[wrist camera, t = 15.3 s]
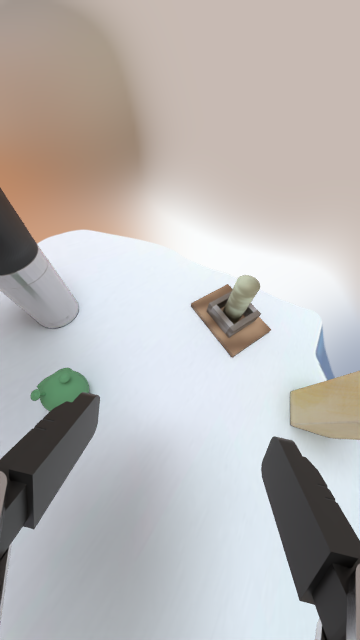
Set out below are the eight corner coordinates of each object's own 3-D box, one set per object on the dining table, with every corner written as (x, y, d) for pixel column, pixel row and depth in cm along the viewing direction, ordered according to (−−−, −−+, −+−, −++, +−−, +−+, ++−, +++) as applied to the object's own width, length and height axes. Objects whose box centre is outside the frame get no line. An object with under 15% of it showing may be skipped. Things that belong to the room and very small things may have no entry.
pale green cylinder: (217, 313, 47) (232, 280, 37) (231, 306, 48) (248, 272, 38) (229, 327, 45) (247, 296, 35) (242, 319, 47) (264, 287, 36)
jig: (190, 305, 49) (193, 294, 45) (226, 287, 53) (231, 275, 49) (232, 357, 43) (238, 350, 39) (268, 331, 47) (278, 322, 43)
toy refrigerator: (328, 398, 40) (465, 374, 22) (332, 438, 36) (499, 449, 18) (289, 387, 41) (391, 353, 22) (289, 425, 37) (410, 422, 19)
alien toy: (83, 367, 40) (60, 349, 31) (101, 398, 37) (82, 389, 29) (49, 388, 37) (13, 376, 29) (65, 424, 35) (32, 422, 26)
